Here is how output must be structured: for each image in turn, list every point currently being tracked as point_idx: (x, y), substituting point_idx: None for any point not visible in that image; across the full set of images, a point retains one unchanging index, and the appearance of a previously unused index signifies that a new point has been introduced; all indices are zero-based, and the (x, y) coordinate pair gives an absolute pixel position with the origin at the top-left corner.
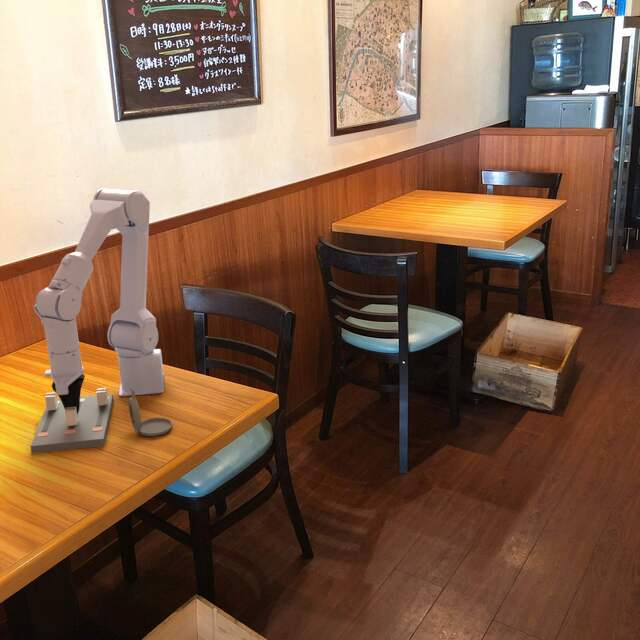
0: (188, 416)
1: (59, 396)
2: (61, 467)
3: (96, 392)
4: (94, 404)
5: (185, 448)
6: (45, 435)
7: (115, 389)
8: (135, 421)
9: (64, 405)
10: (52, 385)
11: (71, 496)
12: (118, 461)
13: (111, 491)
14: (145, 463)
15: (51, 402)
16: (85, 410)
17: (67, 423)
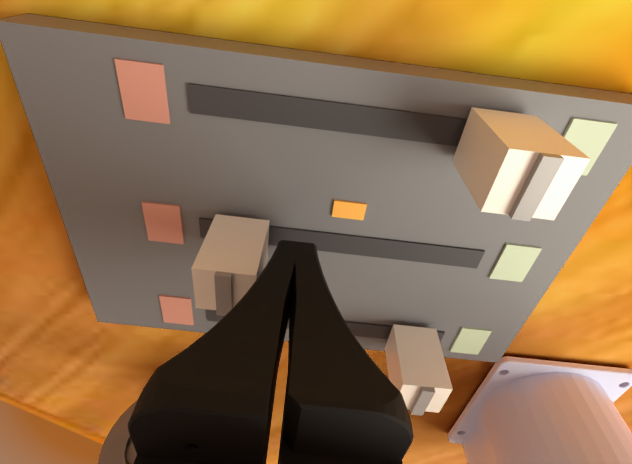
0: (269, 451)
1: (215, 326)
2: None
3: (403, 385)
4: (429, 309)
5: (96, 430)
6: (129, 108)
7: (588, 347)
8: (110, 437)
9: (259, 277)
10: (149, 413)
11: None
12: (8, 324)
13: None
14: (8, 370)
15: (477, 164)
16: (381, 279)
17: (210, 226)
